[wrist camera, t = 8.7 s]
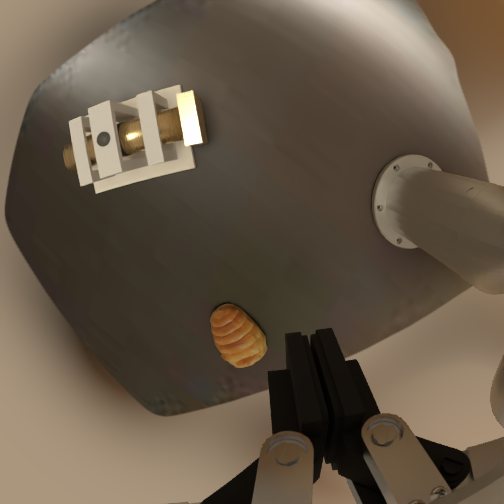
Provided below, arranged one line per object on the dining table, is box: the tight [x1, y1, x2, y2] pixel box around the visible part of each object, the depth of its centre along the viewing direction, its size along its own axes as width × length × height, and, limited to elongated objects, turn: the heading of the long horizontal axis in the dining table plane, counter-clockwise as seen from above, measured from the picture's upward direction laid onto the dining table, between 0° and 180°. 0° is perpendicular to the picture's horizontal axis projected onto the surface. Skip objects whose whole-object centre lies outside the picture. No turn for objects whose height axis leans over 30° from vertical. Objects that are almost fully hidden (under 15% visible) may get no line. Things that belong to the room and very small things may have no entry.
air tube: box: [63, 90, 208, 173], centre depth 27 cm, size 16×5×5 cm, turn 100°
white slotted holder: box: [69, 85, 196, 193], centre depth 26 cm, size 13×10×9 cm
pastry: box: [210, 303, 267, 368], centre depth 38 cm, size 9×7×4 cm
